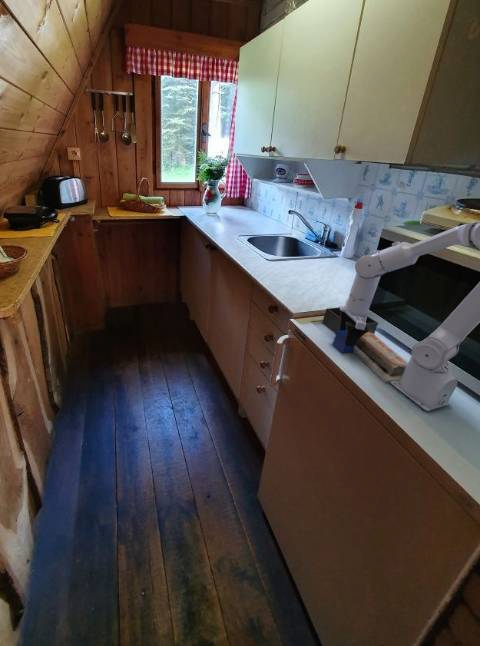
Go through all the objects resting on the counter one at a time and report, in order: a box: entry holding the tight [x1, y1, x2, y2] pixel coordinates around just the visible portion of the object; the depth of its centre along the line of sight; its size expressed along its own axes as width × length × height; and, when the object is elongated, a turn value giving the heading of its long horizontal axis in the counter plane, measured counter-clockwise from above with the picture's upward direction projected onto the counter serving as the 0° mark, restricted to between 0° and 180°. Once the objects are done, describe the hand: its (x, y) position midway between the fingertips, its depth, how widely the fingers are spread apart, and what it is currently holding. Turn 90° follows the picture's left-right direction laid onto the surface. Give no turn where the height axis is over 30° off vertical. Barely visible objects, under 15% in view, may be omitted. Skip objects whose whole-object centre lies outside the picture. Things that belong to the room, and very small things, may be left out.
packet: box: [332, 330, 355, 354], centre depth 90 cm, size 4×4×5 cm
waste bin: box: [322, 306, 379, 335], centre depth 100 cm, size 11×11×6 cm
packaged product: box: [352, 332, 408, 384], centre depth 86 cm, size 18×5×10 cm
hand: (346, 338), depth 89 cm, fingers open, 7 cm apart
